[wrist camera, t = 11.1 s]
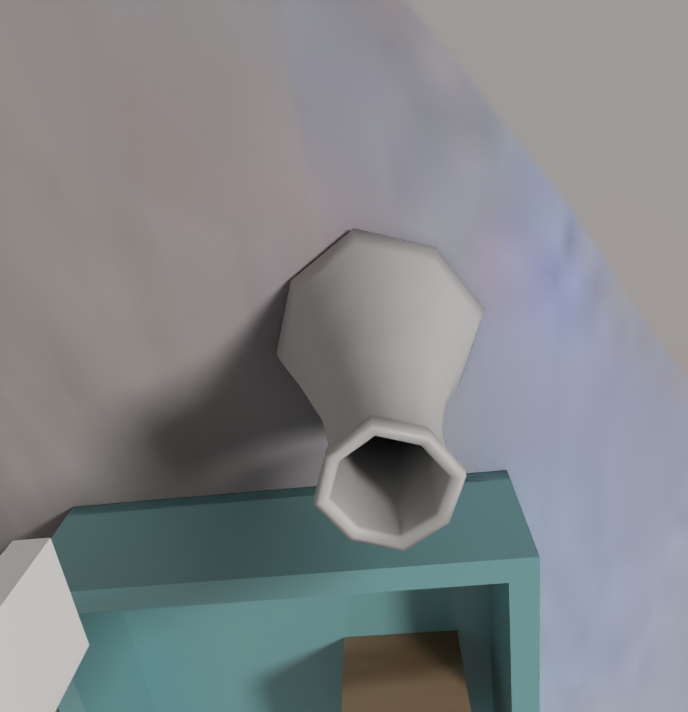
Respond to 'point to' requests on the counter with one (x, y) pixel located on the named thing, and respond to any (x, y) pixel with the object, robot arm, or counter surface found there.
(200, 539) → the tote
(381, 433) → the flask
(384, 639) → the walnut cube
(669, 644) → the counter surface
